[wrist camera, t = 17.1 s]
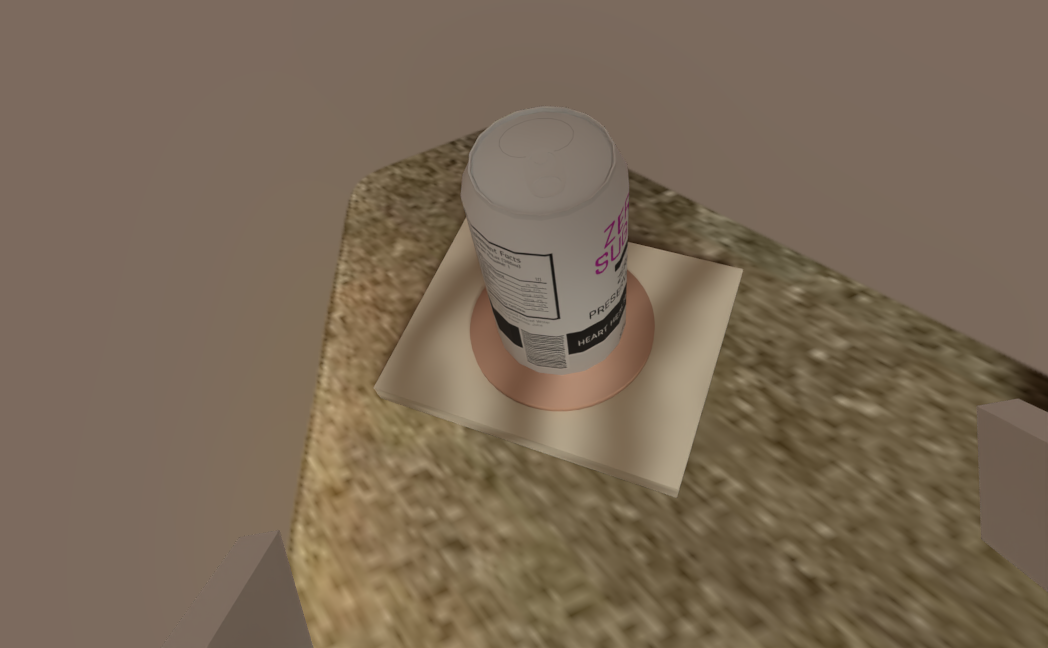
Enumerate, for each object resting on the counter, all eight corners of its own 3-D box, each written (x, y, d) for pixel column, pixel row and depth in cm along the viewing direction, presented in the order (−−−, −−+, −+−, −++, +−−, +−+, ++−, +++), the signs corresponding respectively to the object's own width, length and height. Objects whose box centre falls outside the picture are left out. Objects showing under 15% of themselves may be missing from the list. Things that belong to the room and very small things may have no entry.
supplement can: (491, 285, 48) (446, 116, 35) (610, 262, 48) (608, 83, 35) (508, 391, 44) (464, 241, 31) (639, 365, 43) (649, 205, 31)
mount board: (739, 282, 48) (744, 264, 46) (676, 497, 41) (679, 486, 39) (476, 217, 54) (471, 199, 52) (380, 397, 47) (370, 383, 45)
